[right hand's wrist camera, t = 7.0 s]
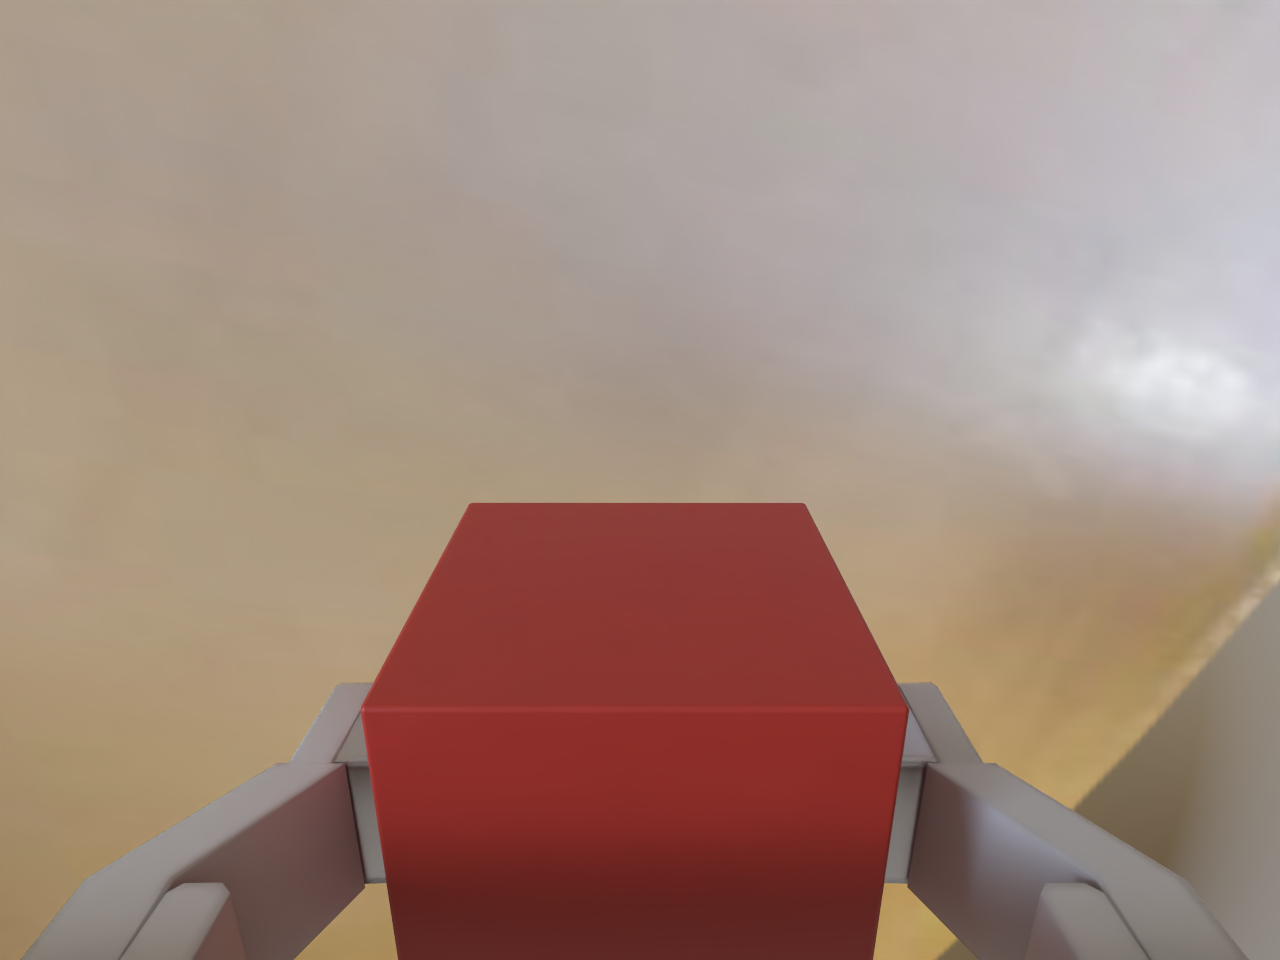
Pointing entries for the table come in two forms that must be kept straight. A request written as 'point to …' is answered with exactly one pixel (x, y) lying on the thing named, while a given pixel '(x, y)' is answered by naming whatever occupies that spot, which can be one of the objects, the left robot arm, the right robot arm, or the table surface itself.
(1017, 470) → the table surface
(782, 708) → the cube
